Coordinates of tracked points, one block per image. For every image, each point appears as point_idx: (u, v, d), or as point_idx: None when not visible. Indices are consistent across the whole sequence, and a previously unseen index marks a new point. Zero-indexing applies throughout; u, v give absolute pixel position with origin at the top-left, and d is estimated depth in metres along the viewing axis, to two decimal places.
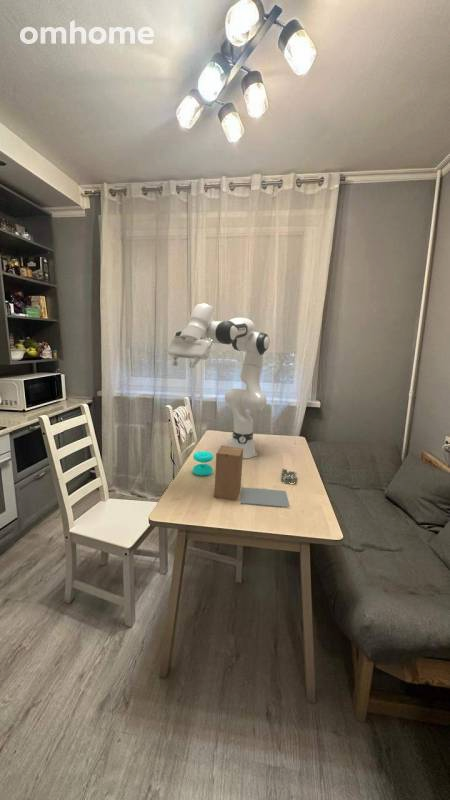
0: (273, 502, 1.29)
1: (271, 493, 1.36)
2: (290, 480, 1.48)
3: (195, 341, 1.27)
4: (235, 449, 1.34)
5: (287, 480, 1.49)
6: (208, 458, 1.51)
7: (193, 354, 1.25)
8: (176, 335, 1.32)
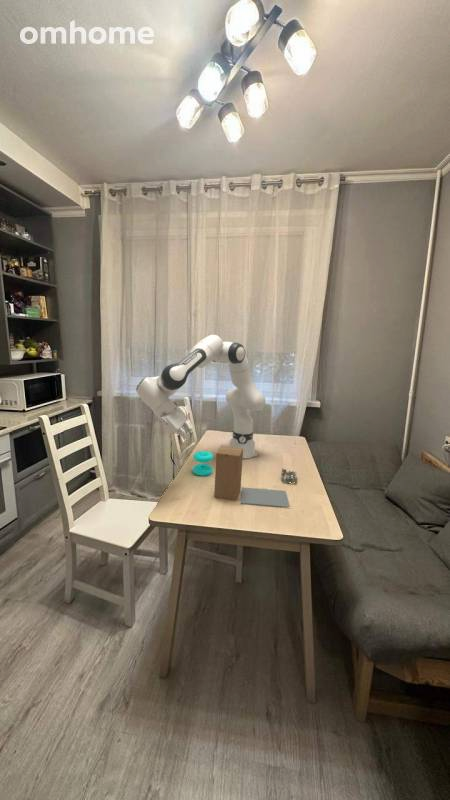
0: (273, 502, 1.29)
1: (271, 493, 1.36)
2: (290, 480, 1.48)
3: None
4: (235, 449, 1.34)
5: (287, 480, 1.49)
6: (208, 458, 1.51)
7: None
8: None
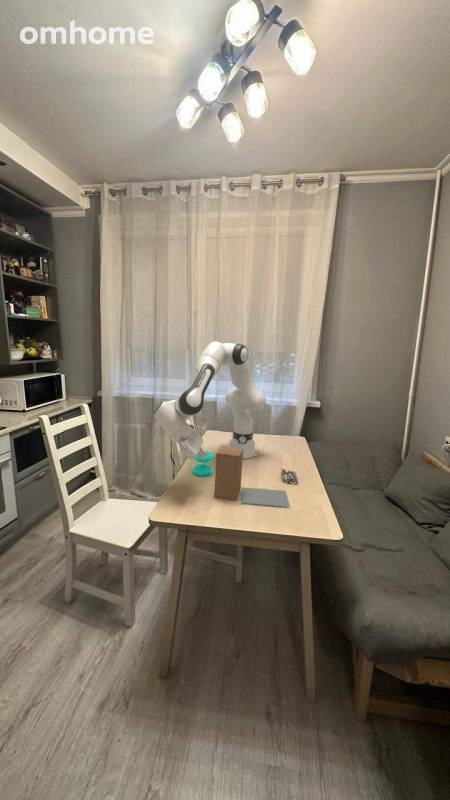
0: (273, 502, 1.29)
1: (271, 493, 1.36)
2: (292, 480, 1.49)
3: None
4: (235, 449, 1.34)
5: (288, 480, 1.49)
6: (208, 458, 1.51)
7: None
8: None
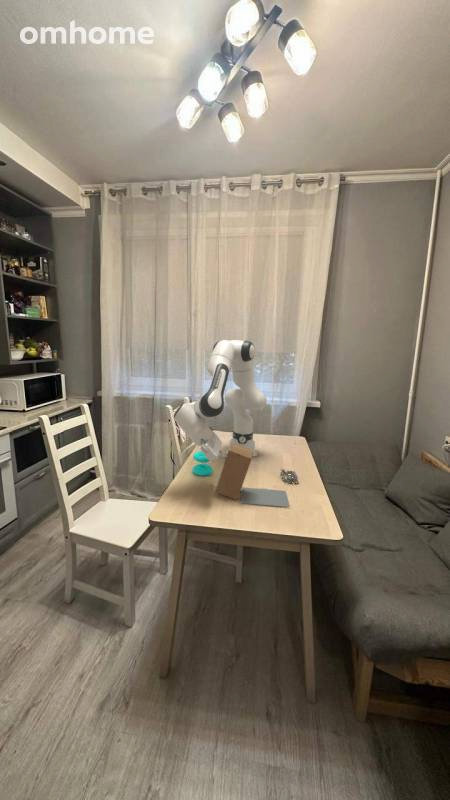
0: (273, 502, 1.29)
1: (271, 493, 1.36)
2: (293, 480, 1.49)
3: None
4: (246, 450, 1.33)
5: (289, 480, 1.49)
6: None
7: None
8: None
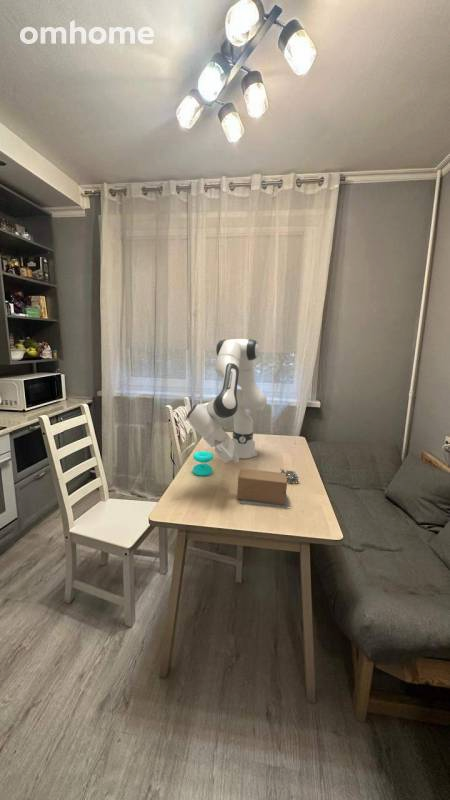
0: None
1: None
2: (293, 480, 1.49)
3: None
4: None
5: (290, 480, 1.49)
6: (208, 458, 1.51)
7: None
8: None
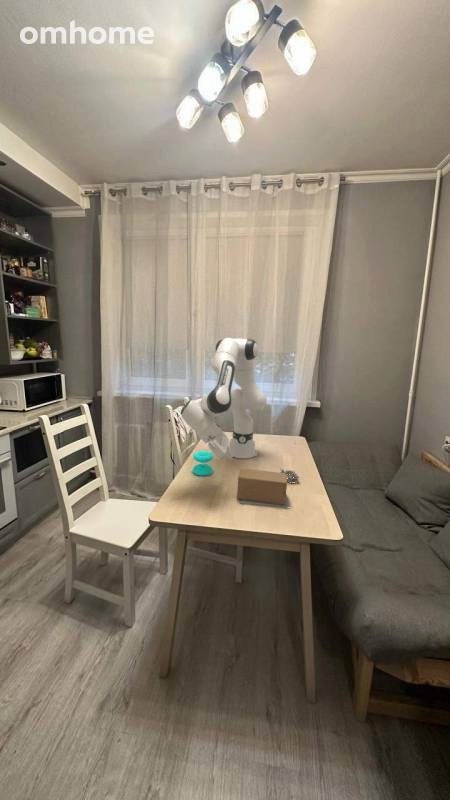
0: None
1: None
2: (294, 480, 1.49)
3: None
4: None
5: (291, 480, 1.49)
6: (208, 458, 1.51)
7: None
8: None
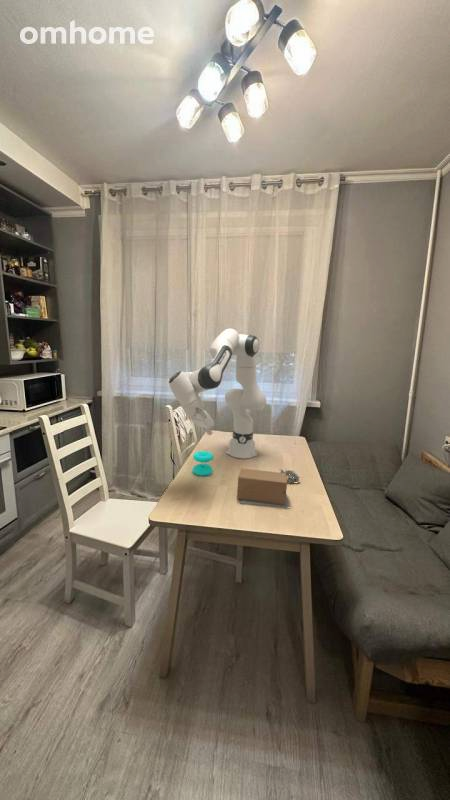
0: None
1: None
2: (295, 480, 1.49)
3: (196, 415, 1.29)
4: None
5: (291, 480, 1.49)
6: (208, 458, 1.51)
7: (204, 427, 1.29)
8: (185, 413, 1.38)
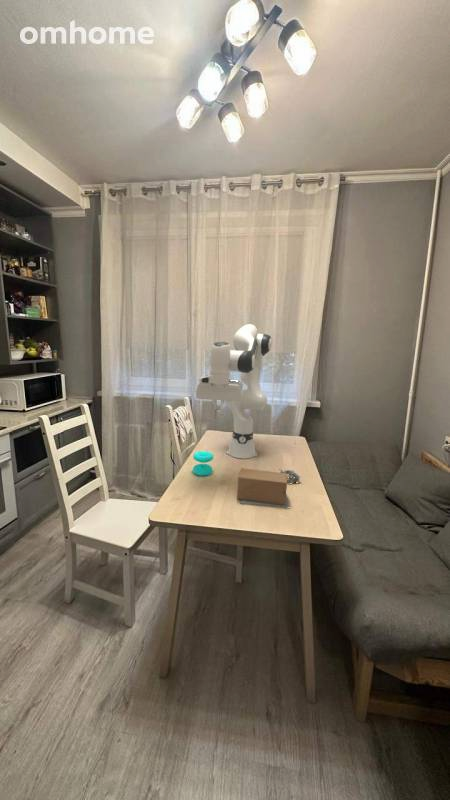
0: None
1: None
2: (296, 480, 1.49)
3: (226, 386, 1.35)
4: None
5: (292, 480, 1.49)
6: (208, 458, 1.51)
7: (228, 400, 1.36)
8: (203, 382, 1.34)
